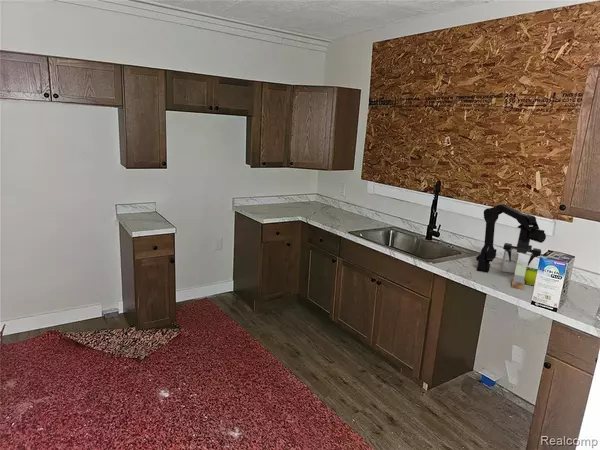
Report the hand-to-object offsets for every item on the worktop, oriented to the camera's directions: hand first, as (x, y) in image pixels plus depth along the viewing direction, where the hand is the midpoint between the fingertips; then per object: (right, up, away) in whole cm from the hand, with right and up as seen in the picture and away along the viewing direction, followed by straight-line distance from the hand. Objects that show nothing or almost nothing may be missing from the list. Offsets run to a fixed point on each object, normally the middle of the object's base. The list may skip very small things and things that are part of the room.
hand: (518, 263), depth 232 cm
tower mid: (-2, -10, -3) cm, 10 cm away
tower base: (-2, -13, -2) cm, 14 cm away
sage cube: (-1, -6, -3) cm, 7 cm away
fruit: (+8, -13, +5) cm, 16 cm away
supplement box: (+7, -7, +26) cm, 28 cm away
